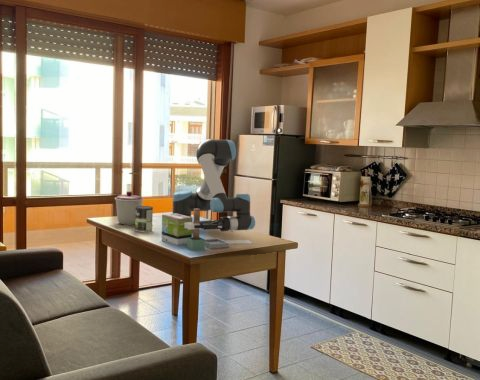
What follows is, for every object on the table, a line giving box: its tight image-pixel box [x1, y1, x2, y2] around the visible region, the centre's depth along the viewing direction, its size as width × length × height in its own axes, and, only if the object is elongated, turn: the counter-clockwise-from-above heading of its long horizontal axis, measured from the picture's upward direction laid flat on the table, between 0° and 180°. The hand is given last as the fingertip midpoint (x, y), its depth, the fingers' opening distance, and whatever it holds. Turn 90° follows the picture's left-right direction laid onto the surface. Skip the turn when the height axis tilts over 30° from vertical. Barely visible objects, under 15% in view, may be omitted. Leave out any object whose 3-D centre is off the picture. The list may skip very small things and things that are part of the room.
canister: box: [114, 190, 145, 226], centre depth 301 cm, size 18×18×21 cm
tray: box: [204, 237, 230, 249], centre depth 248 cm, size 12×11×3 cm
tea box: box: [161, 213, 194, 246], centre depth 252 cm, size 15×10×15 cm, turn 45°
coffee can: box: [134, 205, 154, 233], centre depth 281 cm, size 10×10×14 cm
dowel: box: [192, 209, 201, 240], centre depth 238 cm, size 3×3×20 cm
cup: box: [185, 236, 206, 251], centre depth 239 cm, size 7×7×6 cm
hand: (186, 226), depth 235 cm, fingers closed on dowel, 3 cm apart
